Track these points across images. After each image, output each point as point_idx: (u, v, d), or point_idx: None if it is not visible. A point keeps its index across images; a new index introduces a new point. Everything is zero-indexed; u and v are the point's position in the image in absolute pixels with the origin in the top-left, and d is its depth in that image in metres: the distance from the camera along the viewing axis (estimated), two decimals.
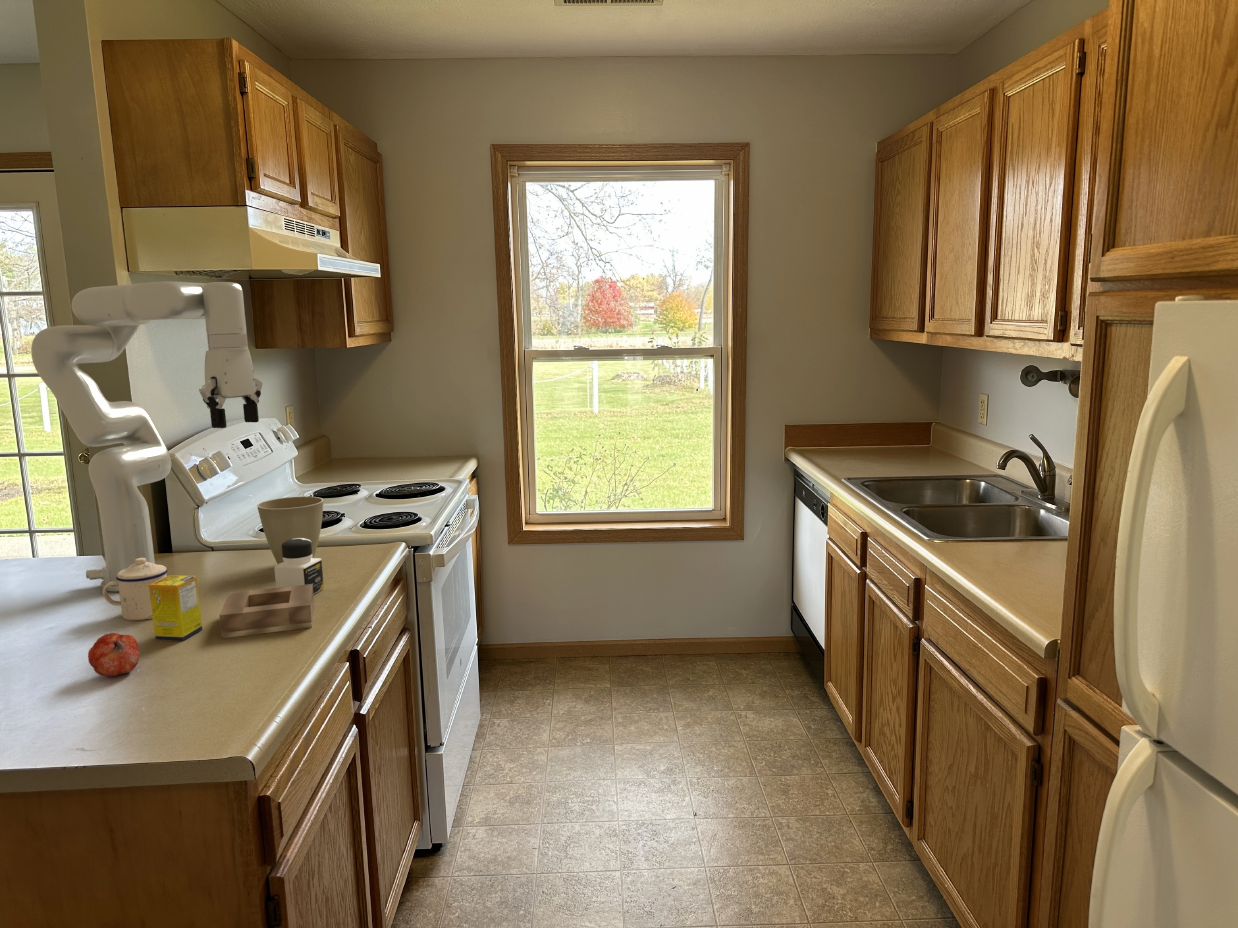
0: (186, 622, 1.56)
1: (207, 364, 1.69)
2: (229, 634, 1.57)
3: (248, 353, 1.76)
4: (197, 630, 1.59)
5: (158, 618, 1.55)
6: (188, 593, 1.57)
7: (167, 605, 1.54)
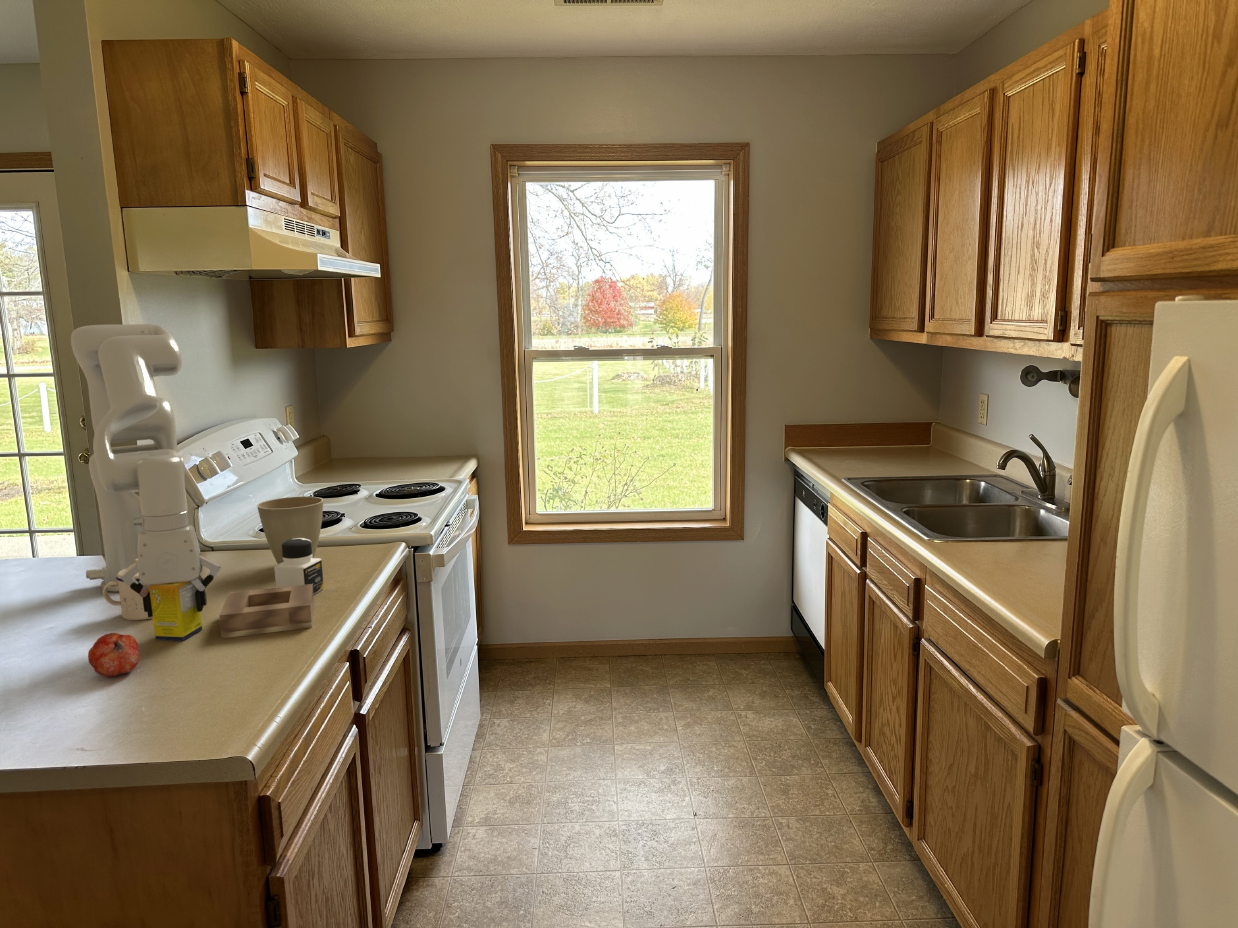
0: (186, 622, 1.56)
1: (195, 542, 1.56)
2: (229, 634, 1.57)
3: None
4: (197, 630, 1.59)
5: (158, 618, 1.55)
6: (188, 593, 1.57)
7: (167, 605, 1.54)
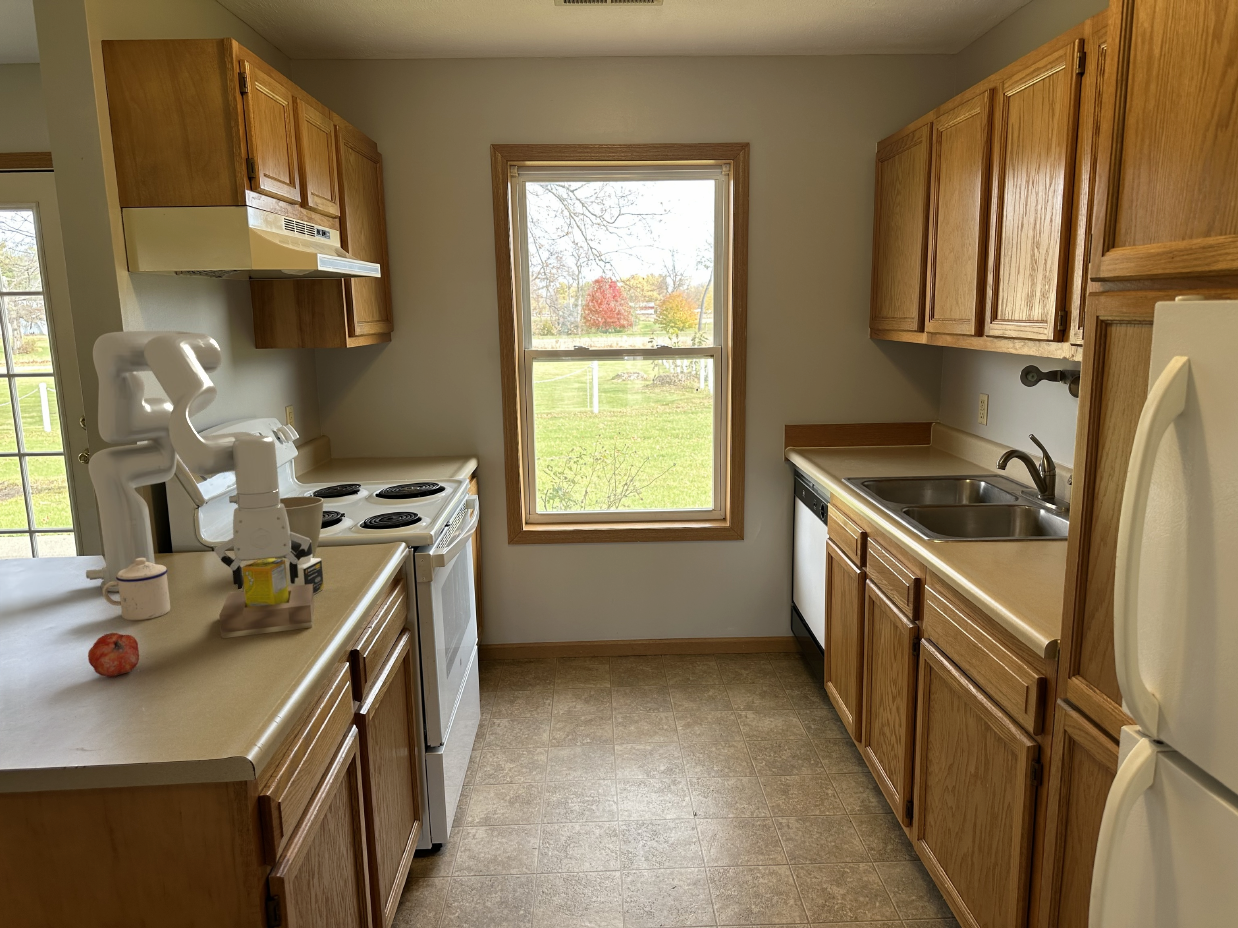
0: (277, 603, 1.63)
1: (287, 519, 1.62)
2: (229, 634, 1.57)
3: None
4: None
5: (251, 599, 1.62)
6: (279, 575, 1.64)
7: (260, 586, 1.61)
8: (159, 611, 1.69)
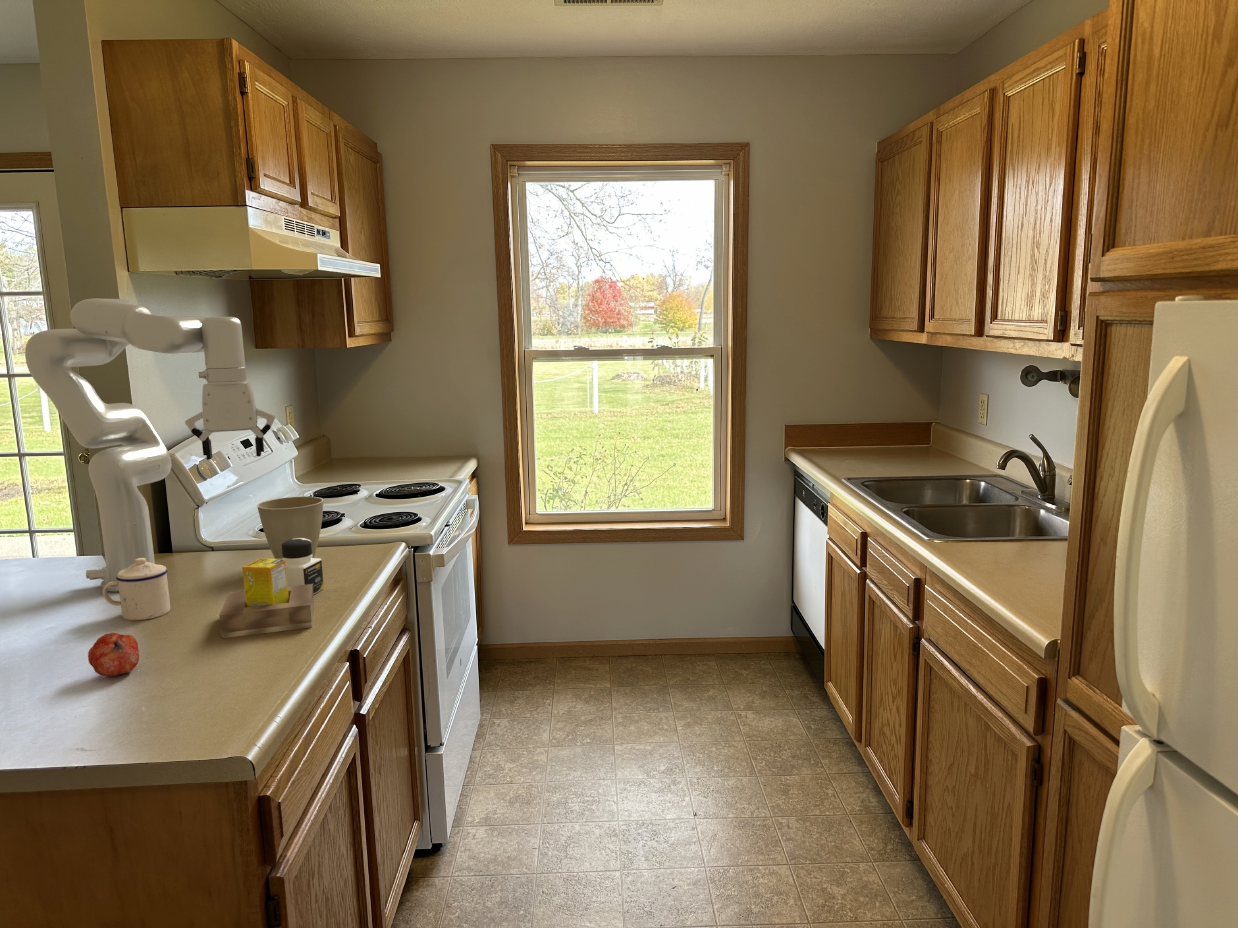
0: (277, 603, 1.63)
1: (252, 395, 1.75)
2: (229, 634, 1.57)
3: None
4: None
5: (251, 599, 1.62)
6: (279, 575, 1.64)
7: (260, 586, 1.61)
8: (159, 611, 1.69)
